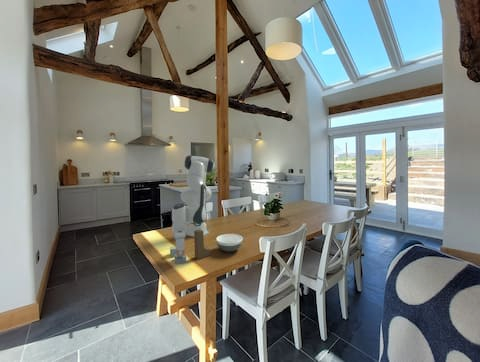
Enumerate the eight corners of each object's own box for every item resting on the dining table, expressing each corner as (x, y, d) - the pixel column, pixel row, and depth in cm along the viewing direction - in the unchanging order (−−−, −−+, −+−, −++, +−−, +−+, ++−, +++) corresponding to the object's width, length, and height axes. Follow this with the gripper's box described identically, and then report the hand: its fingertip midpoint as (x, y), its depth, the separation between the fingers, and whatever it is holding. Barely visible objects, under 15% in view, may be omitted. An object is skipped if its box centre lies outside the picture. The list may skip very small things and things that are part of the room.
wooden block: (206, 253, 154) (205, 227, 152) (210, 255, 150) (209, 229, 148) (194, 257, 148) (193, 230, 146) (198, 259, 144) (197, 232, 142)
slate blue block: (174, 258, 146) (174, 255, 145) (186, 257, 147) (186, 253, 147) (174, 263, 139) (174, 260, 139) (186, 262, 141) (186, 258, 140)
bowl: (211, 248, 163) (211, 236, 162) (233, 242, 173) (233, 232, 172) (224, 257, 147) (224, 245, 146) (247, 251, 157) (247, 239, 156)
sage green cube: (170, 253, 154) (170, 246, 153) (178, 252, 155) (178, 245, 154) (170, 256, 149) (170, 249, 148) (178, 256, 150) (177, 248, 150)
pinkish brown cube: (176, 253, 145) (176, 246, 144) (184, 252, 146) (184, 245, 145) (176, 256, 140) (176, 249, 139) (184, 255, 141) (184, 248, 140)
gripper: (174, 226, 150) (175, 246, 152) (174, 236, 131) (175, 259, 132) (184, 225, 152) (185, 245, 153) (185, 235, 132) (186, 258, 134)
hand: (180, 251), depth 143 cm, fingers closed on pinkish brown cube, 5 cm apart
